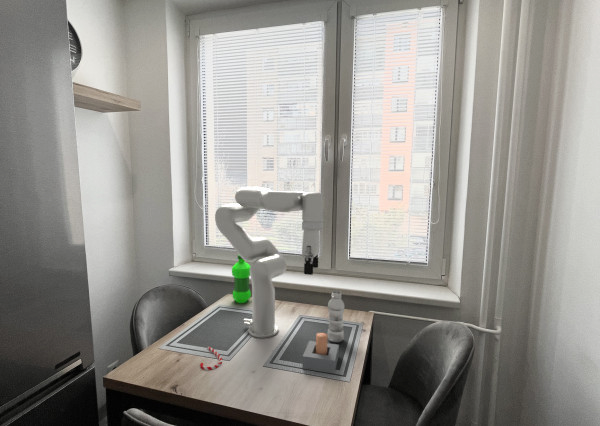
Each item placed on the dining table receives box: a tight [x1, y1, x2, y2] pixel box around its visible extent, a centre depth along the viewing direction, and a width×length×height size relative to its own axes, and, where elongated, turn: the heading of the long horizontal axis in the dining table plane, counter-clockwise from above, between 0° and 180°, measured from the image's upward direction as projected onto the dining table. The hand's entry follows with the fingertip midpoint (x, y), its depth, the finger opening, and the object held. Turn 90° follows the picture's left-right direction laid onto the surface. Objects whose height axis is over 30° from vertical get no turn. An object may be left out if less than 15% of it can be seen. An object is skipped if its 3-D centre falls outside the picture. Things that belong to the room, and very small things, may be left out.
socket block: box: [301, 340, 340, 374], centre depth 115 cm, size 11×11×4 cm
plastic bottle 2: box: [326, 290, 345, 344], centre depth 130 cm, size 6×7×20 cm
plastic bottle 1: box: [231, 254, 252, 304], centre depth 170 cm, size 10×10×25 cm
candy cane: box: [199, 346, 223, 371], centre depth 116 cm, size 8×1×15 cm
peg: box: [315, 332, 328, 355], centre depth 114 cm, size 4×4×10 cm
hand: (311, 270), depth 122 cm, fingers open, 9 cm apart
